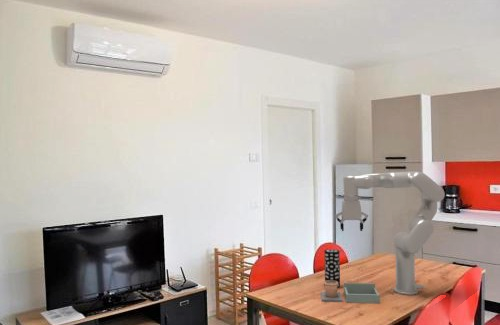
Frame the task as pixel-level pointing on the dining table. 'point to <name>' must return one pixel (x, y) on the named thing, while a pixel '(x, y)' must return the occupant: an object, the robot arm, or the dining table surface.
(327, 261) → the spotted tube
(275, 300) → the dining table surface
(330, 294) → the pot
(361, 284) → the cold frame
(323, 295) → the slate tile
